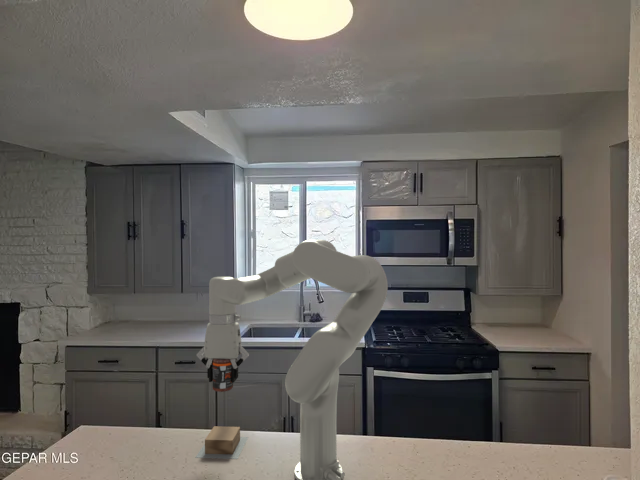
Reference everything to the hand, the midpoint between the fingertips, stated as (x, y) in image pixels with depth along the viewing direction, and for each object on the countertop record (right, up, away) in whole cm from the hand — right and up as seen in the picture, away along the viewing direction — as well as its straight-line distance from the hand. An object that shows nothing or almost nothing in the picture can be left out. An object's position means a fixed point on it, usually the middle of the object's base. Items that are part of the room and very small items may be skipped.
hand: (222, 380), depth 115 cm
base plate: (0, -21, 0) cm, 21 cm away
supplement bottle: (0, -3, 0) cm, 3 cm away
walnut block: (0, -20, 0) cm, 20 cm away
